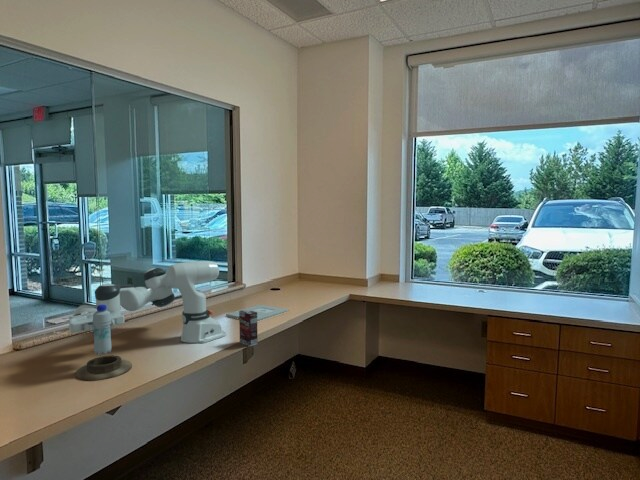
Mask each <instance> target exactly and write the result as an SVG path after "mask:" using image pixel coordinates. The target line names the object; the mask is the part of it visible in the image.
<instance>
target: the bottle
mask: <svg viewBox="0 0 640 480" xmlns="http://www.w3.org/2000/svg"><path fill="white" fill-rule="evenodd" d="M96 308H97V312H95V313H94V314H93V321H92V322H93V326H95V330H94V331H93V341H94V342H93V350H94V351H93V352H94V354H95V355H97V356H102V354H103V356H107V354H110V353H111V351H112V338H111V337H112V335H111V333H112V332H111V329H112V328H111V327H110V324H111V315H110V312H109V311H106V310H107V307H106V305H98V306H97V307H96Z"/></svg>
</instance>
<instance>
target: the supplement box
mask: <svg viewBox="0 0 640 480" xmlns="http://www.w3.org/2000/svg"><path fill="white" fill-rule="evenodd" d="M245 309H246V308H245ZM241 310H242V309H241ZM238 311H239V310H238ZM238 320H239V322H238V323H239V343H240V344H243V345H246V346H248V347H253V346H256V345H258V322H257V312H254V311H250V310H247V309H246V310H242V311H239V319H238Z"/></svg>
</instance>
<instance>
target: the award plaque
mask: <svg viewBox="0 0 640 480" xmlns="http://www.w3.org/2000/svg"><path fill="white" fill-rule="evenodd" d="M246 309H247V310H250V311H254V312H257V321H260V320H263V319H266V318H269V317H272V316H275V315H278V314H281V313H284V312H287V311H289V312H290V310H289V309H286V308H280V307H275V306H270V305H264V304H257V305H254V306H251V307H246V308H242V309H239V310H236V311H231V312H228V313H225V314H226V315H225V317H226V316H228V317H227V318H230V317H233V318H232V319H234V318H238V319H237V320H239V311H242V310H246Z"/></svg>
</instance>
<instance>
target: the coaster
mask: <svg viewBox="0 0 640 480" xmlns="http://www.w3.org/2000/svg"><path fill="white" fill-rule="evenodd" d="M132 367H133V363H132V362H131V361H130V360H127V359H123V358H122V357H121V356H119V355H101V356H98V357H94V358H92V359H89V360H88V361H87V363H86V365H85V364H84V365H83V366H81V367H79V368H78V369H77V370H76V372H75V377H76V379H79V380H81V381H89V382H91V381H92V382H93V381H104V380H107V379H109V380H110V379H113V378H116V377H120V376H122V375H124V374H126V373H128V372H129V371H130V370H131V369H132Z"/></svg>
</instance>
